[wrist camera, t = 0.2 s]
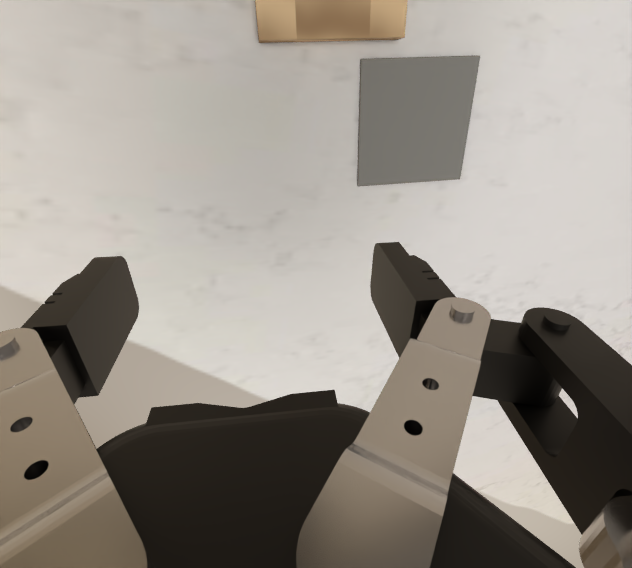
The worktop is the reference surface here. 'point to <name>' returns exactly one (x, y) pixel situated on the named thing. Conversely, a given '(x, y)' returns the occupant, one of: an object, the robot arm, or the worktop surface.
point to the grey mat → (414, 118)
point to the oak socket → (330, 20)
